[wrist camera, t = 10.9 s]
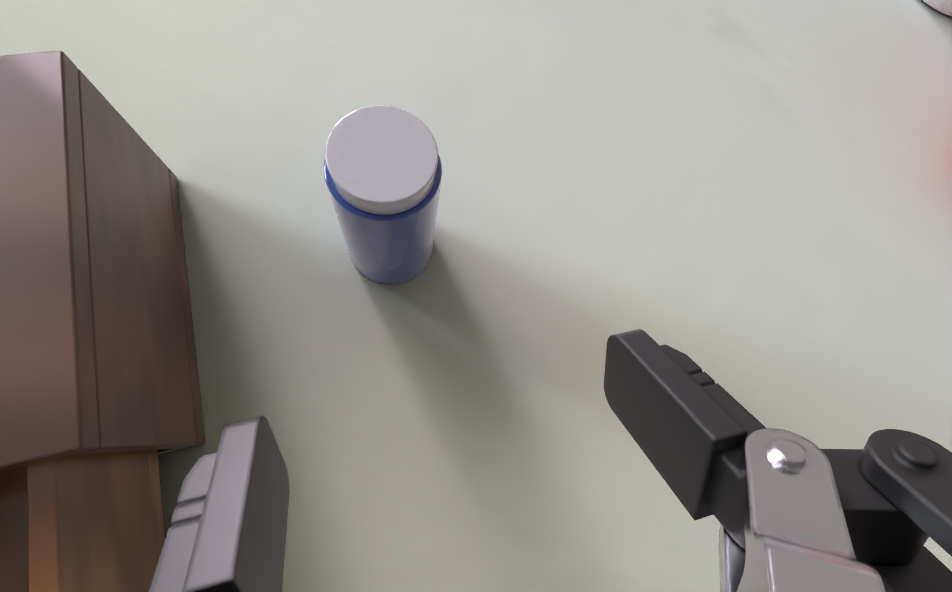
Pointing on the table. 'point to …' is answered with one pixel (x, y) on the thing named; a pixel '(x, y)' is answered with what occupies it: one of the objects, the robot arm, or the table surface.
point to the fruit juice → (941, 5)
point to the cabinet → (88, 277)
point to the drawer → (81, 524)
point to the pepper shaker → (384, 190)
